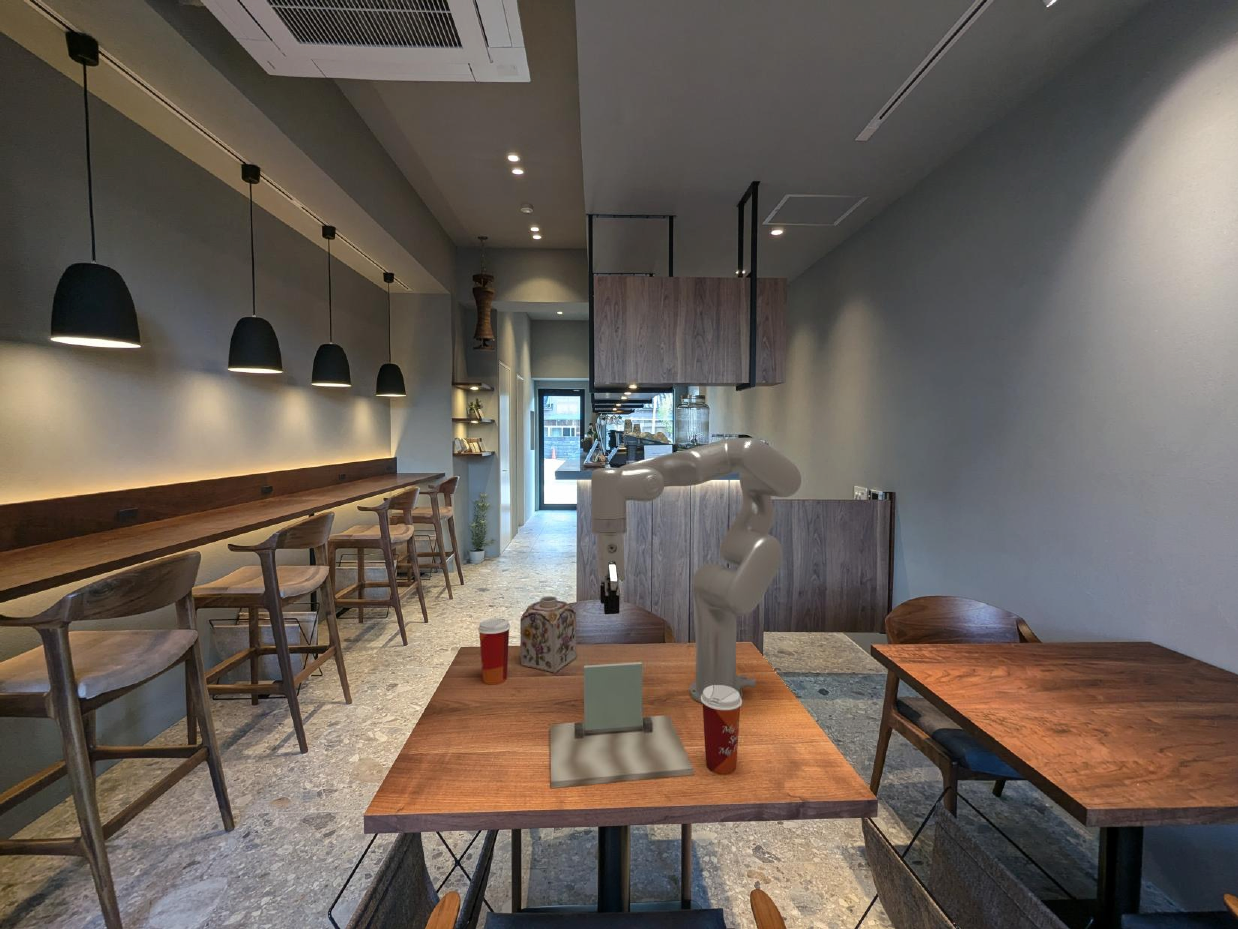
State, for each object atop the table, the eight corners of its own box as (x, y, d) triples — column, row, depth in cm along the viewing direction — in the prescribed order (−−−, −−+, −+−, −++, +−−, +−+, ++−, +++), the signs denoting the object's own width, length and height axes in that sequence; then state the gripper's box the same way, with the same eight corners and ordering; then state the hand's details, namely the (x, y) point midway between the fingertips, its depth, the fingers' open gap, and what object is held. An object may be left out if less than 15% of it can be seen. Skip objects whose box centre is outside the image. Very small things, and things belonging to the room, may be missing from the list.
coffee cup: (496, 670, 141) (495, 615, 140) (517, 677, 136) (517, 621, 135) (471, 681, 134) (470, 624, 133) (492, 690, 129) (491, 630, 128)
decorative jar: (543, 650, 154) (543, 590, 153) (577, 657, 148) (577, 595, 148) (519, 666, 143) (518, 601, 142) (554, 674, 138) (554, 607, 137)
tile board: (669, 720, 115) (669, 706, 114) (693, 774, 96) (693, 757, 96) (550, 730, 111) (549, 715, 111) (550, 788, 92) (550, 770, 92)
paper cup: (733, 783, 93) (733, 707, 93) (693, 769, 97) (694, 696, 97) (747, 761, 100) (748, 689, 99) (709, 748, 104) (710, 679, 103)
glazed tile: (641, 727, 109) (641, 661, 109) (642, 730, 108) (642, 664, 107) (584, 732, 108) (583, 665, 107) (584, 735, 106) (584, 668, 106)
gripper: (633, 532, 103) (633, 620, 104) (620, 519, 121) (621, 595, 121) (595, 533, 102) (596, 622, 103) (588, 520, 120) (588, 597, 120)
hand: (609, 607), depth 112 cm, fingers open, 6 cm apart
